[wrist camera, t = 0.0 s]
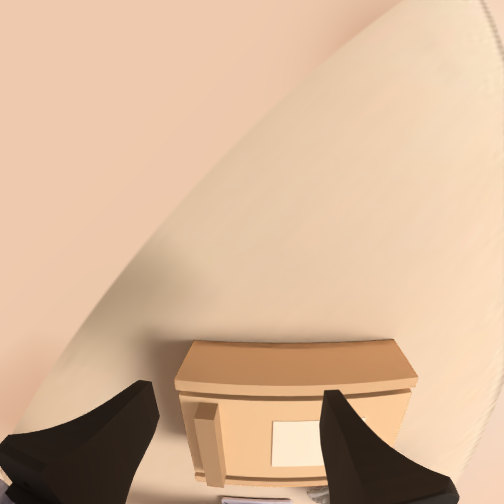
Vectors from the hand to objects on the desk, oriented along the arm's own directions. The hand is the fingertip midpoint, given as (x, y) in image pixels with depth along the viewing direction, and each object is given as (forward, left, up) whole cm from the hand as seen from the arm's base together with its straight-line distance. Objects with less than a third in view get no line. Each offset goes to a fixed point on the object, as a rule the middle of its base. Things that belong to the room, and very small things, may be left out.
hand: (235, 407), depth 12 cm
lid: (-8, -3, -6) cm, 10 cm away
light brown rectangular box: (-8, -3, -10) cm, 13 cm away
